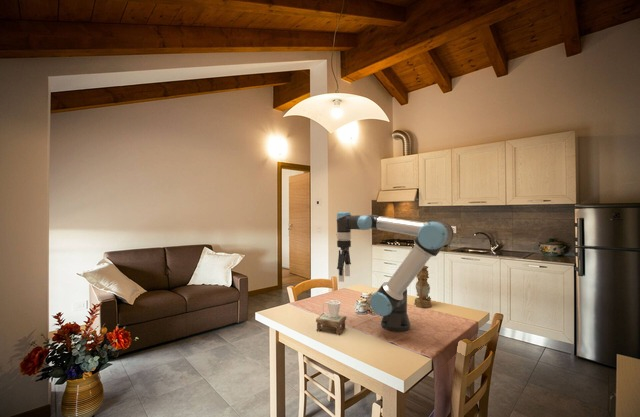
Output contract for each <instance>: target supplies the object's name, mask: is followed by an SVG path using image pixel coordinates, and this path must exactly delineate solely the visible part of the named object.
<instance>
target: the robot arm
mask: <svg viewBox="0 0 640 417" xmlns="http://www.w3.org/2000/svg"><path fill="white" fill-rule="evenodd" d="M352 230H359V231H360V230H362V231H366V230H367V231H368V230H378V231H385V232H389V233H395V234H396V233H397V234H402V235H407V236H413V237H415V239H414V240H413V242H414V246H413V247H412V248H411V251H409V253H408V254H407V255H406V257H405V258H404V259H403V261H402V262H401V264H400V265H399V267H398V268H397V269H396V271H395V272H394V273H393V274H392V276H391V277H390V279H389V280H388V281H385V282H383V283H382V284H381V285H380V287H379V288H378V289H377V291H375V292H373V293H372V294H371V295H370V298H369V304H370V308H371V310H372V311H373V313H374V314H376V315H378V316H380V317H381V320H380V325H381V326H380V327H382V328H383V329H384V330H385V329H386V330H388V331H391V332H406V331H408V330H410V329H411V321H410V318H409V315H408V287H409V286H410V285H411V283H412V282H413V281H414V280H415V278H417V277H416V276H417V274H418V273H419V272H420V270H421V269H422V268H423V266H426V264H427V262H428V261H429V260H430V259H431V258H432V257H437V256H438V254H439V253H440V252H441V250H442V249H443V248H444V247H445V246H447V245H449V244H450V243H451V242H452V241H453V239H454V236H455V232H454V228H453V227H452V225H451V224H449V223H448V222H446V221H443V220H439V221H431V220H427V221H425V222H424V221H417V220H410V219H401V218H397V217H395V218H394V217H388V216H380V215H376V214H368V215H367V214H366V215H363V214H362V215H359V214H358V215H352V214H351V212H350V211H339V212H337V213H336V234H335V235H336V239H337V240H336V244H337V245H336V247H337V248H340V249H338V256H337V257H338V258H337V267H336V269H337V270H338V282H341V283H342V282H343V283H344V281H345V277H350V276H351V275H350V274H351V271H350V266H351V265H352V262H351V257H350V256H351V255H350V248H351V247H352V241H351V239H352Z"/></svg>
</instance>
